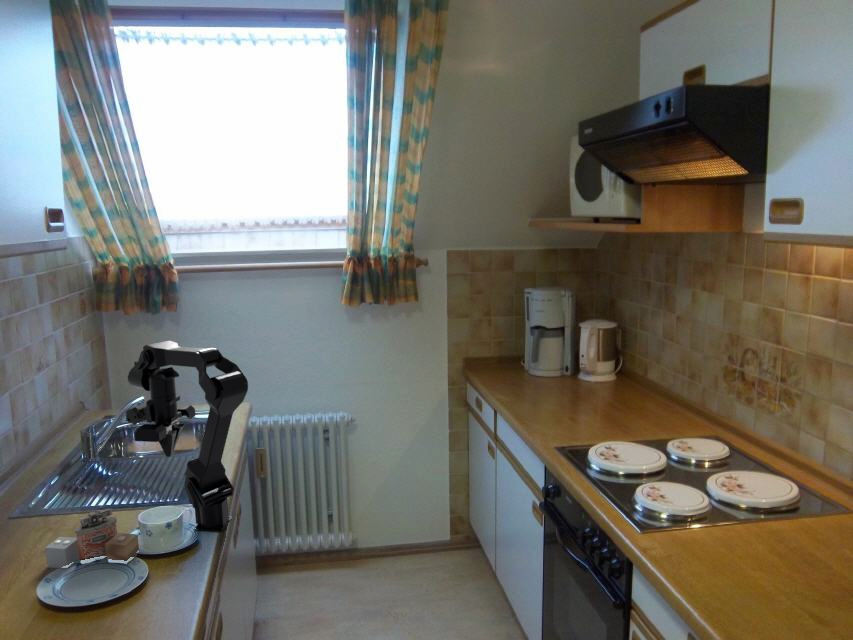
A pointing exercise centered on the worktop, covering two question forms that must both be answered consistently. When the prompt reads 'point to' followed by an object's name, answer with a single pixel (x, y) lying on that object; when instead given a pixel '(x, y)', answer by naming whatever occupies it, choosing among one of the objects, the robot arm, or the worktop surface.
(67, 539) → the grey block
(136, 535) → the walnut block
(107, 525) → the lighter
